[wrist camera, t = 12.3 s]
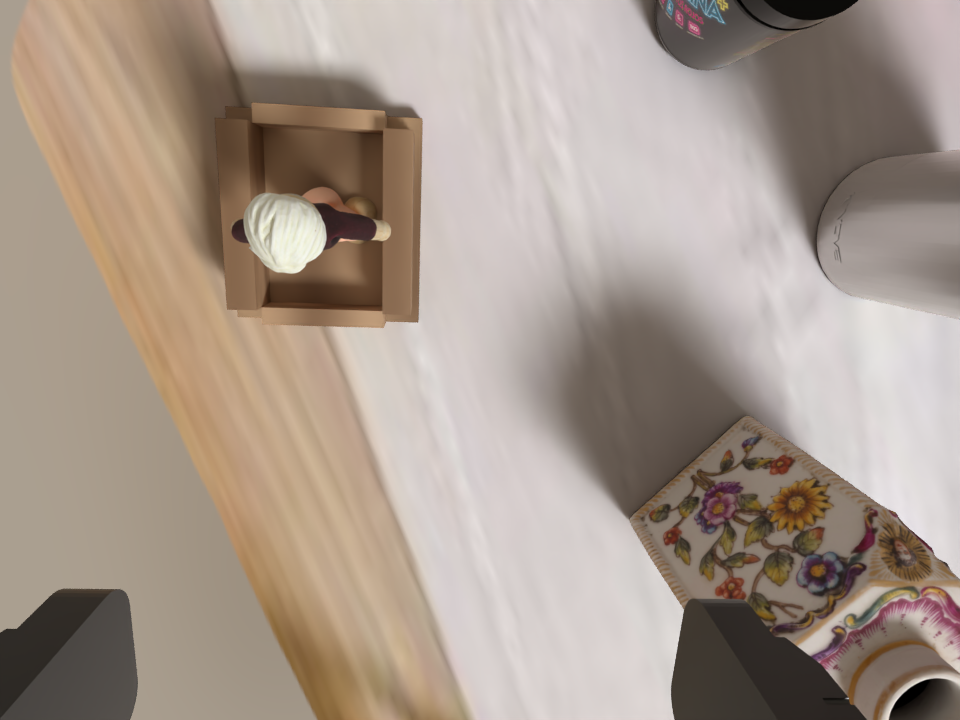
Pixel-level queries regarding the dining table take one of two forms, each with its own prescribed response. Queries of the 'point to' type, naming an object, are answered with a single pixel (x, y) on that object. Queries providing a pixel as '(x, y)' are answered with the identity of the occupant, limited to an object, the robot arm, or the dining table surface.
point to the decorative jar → (813, 569)
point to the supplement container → (734, 26)
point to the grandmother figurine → (305, 226)
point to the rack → (350, 173)
